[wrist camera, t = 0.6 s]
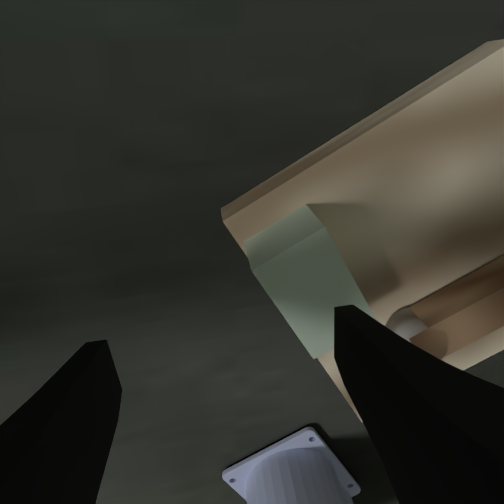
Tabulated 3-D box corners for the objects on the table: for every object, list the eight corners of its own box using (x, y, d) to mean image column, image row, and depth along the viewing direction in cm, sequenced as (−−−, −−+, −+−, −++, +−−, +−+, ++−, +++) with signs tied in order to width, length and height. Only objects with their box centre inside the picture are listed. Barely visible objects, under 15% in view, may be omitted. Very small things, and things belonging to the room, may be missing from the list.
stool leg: (394, 353, 23) (410, 377, 21) (376, 323, 22) (392, 344, 20) (579, 254, 21) (614, 270, 20) (572, 215, 20) (608, 228, 18)
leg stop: (354, 290, 21) (378, 323, 18) (298, 321, 21) (313, 359, 18) (305, 203, 18) (324, 226, 16) (243, 241, 19) (251, 270, 16)
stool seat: (551, 294, 25) (578, 310, 24) (351, 400, 27) (362, 422, 26) (487, 41, 18) (518, 37, 16) (220, 208, 20) (222, 221, 18)
